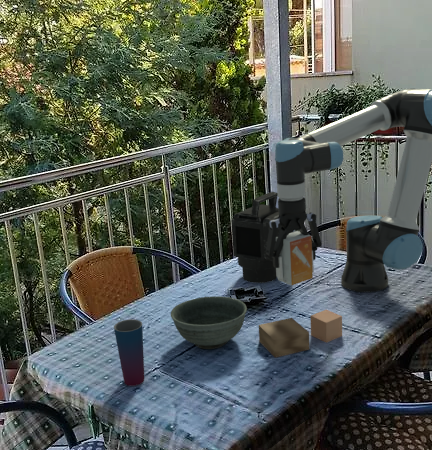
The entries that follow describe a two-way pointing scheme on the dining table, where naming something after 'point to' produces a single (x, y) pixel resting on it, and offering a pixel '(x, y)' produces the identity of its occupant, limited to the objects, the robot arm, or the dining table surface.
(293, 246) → the small box
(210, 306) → the bowl
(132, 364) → the cup
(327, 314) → the terracotta cube
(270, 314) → the dining table surface
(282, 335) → the walnut plinth
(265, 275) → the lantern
